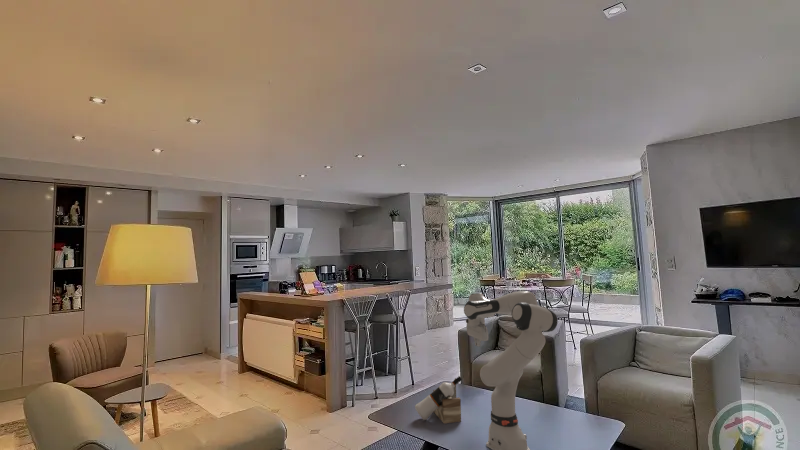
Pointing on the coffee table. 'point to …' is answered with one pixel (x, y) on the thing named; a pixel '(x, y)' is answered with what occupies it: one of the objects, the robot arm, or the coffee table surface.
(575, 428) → the coffee table surface
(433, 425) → the coffee table surface
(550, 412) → the coffee table surface
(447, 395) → the vodka
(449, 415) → the cradle
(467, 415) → the coffee table surface
